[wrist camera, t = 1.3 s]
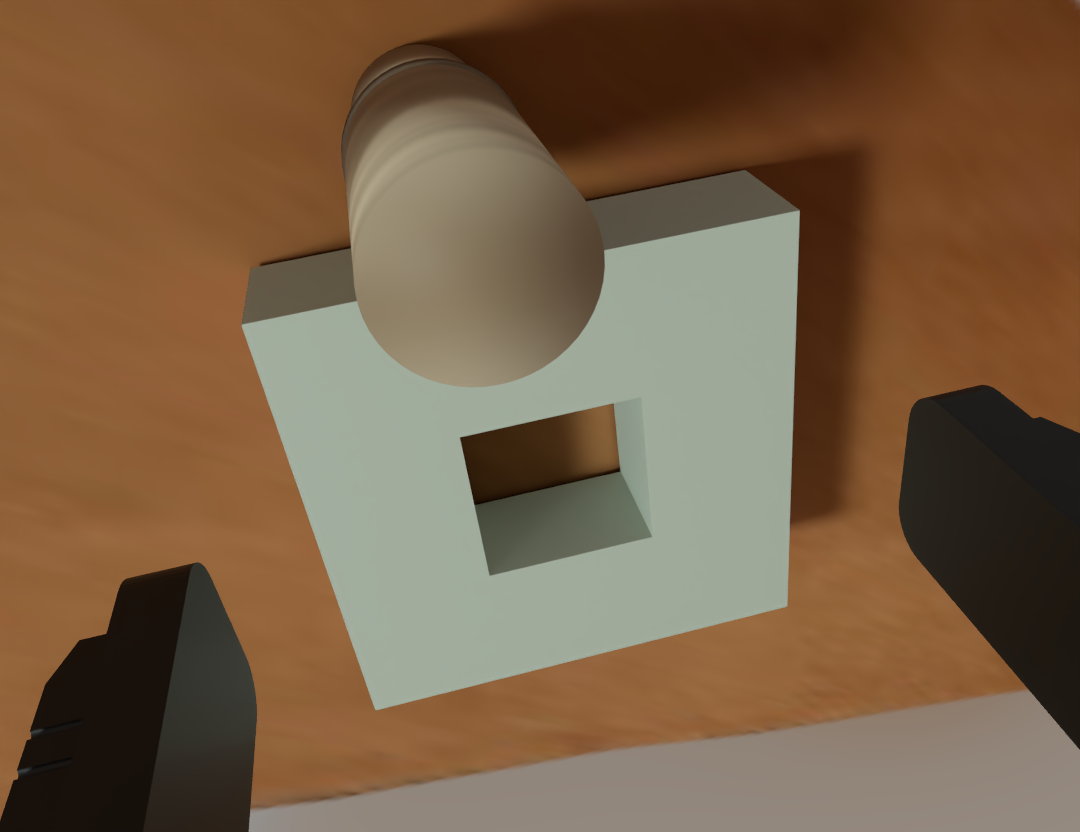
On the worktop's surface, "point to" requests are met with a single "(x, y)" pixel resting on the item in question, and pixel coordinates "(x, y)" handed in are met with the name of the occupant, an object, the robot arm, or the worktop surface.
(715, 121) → the worktop surface
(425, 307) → the peg
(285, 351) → the board
